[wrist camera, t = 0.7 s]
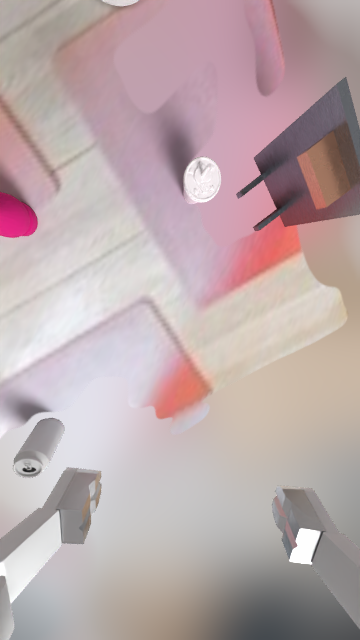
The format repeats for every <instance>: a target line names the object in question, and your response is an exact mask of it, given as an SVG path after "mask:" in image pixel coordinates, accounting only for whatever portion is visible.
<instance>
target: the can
mask: <svg viewBox="0 0 360 640" xmlns="http://www.w3.org/2000/svg"><path fill="white" fill-rule="evenodd" d="M64 431H65V428H64V425H63V424H62V423H61V421H59V420H57V419H54V418H48V419H43V420H41V421H39V422H38V423H37V425H36V426H35V428H34V429H33V431H32V432H31V434H30V435H29V437H28V438H27V440H26V441H25V443H24V445H23V446H22V448H21V449H20V451H19V452H18V454H17V455H16V457H15V458H14V465H13V471H14V472H15V473H16V474H17V475H19V476H20V477H24V478H33V477H36V476H38V475H40V474H41V473H42V471H43V470H45V469H46V468H47V467H48V465H49V463H50V461H51V459H52V457H53V455H54V453H55V450H56V448H57V446H58V444H59V442H60V440H61V438H62V436H63V434H64Z"/></svg>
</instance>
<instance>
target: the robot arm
mask: <svg viewBox="0 0 360 640" xmlns="http://www.w3.org/2000/svg"><path fill="white" fill-rule="evenodd" d="M102 1H103V2H106V3H108V4H111V5H115V6H127V5H131V4H133V3H136V2H137V1H139V0H102ZM100 479H101V471H96V470H87V469H78V468H67V469H66V470H65V471H64V472H63V474H62V475H61V477H60V479H59V481H58V482H57V484H56V486H55V488H54V489H53V491H52V492H51V494H50V496H49V497H48V499H47V501H46V502H45V504H44V506H43V508H38V509H37V510H36V511H34V512H33V513H32V514H31V515H29V516H28V517H27V518H26V519H24V520H23V521H22V522H21V523H19V524H18V525H17V526H16V527H14V528H13V529H12V530H11V531H10V532H8V533H7V534H6V535H5V536H4V537H2V538H1V539H0V640H9V638H10V636H11V634H12V632H13V630H14V618H13V613H12V608H11V603H12V602H13V601H14V600H15V598H16V597H17V596H18V595H19V594H20V593H21V592H22V590H23V589H24V588H25V587H26V586H27V585H28V583H29V582H30V581H31V580H32V579H33V578H34V577H35V575H36V574H37V573H38V572H39V571H40V570H41V568H42V567H43V566H44V565H45V564H46V563H47V561H48V560H49V559H50V558H51V557H52V556H53V554H54V553H55V552H56V551H57V550H58V549H59V548H60V546H61V545H62V543H69V544H84V541H85V539H86V536H87V533H88V530H89V528H90V525H91V515H92V514H93V513H94V512H95V511H96V508H97V506H98V503H99V498H100V494H101V484H100V482H99V481H100ZM275 492H276V494H277V496H276V497H275V498H274V499H273V503H272V509H273V516H274V520H275V522H276V525H277V527H278V528H279V529H280V530H281V531H282V533H283V535H282V542H283V544H284V547H285V550H286V552H287V555H288V558H289V560H290V561H292V562H300V563H309V564H311V566H312V567H313V569H314V570H315V571H316V572H317V574H318V575H319V576H320V578H321V579H322V580H323V582H324V583H325V584H326V586H327V587H328V588H329V589H330V591H331V592H332V594H333V595H334V596H335V597H336V599H337V600H338V601H339V603H340V604H341V605H342V606H343V608H344V609H345V610H346V612H347V613H348V614H349V616H350V617H351V618H352V620H353V621H354V622H355V624H356V625H357V626H358V627H359V629H360V549H359V548H358V547H357V546H356V545H355V544H354V543H353V542H352V541H351V540H350V539H349V538H348V537H346V536H345V535H344V534H342V533H339V531H338V529H337V528H336V526H335V524H334V523H333V521H332V520H331V518H330V516H329V514H328V513H327V511H326V510H325V508H324V506H323V505H322V503H321V501H320V499H319V498H318V496H317V494H316V493H315V491H314V490H313V489H311V488H301V487H293V486H277V488H276V491H275Z"/></svg>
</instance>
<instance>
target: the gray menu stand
mask: <svg viewBox="0 0 360 640" xmlns="http://www.w3.org/2000/svg"><path fill="white" fill-rule="evenodd" d="M254 160H255V162H256V164H257V166H258V168H259V171H260V172H261V175H260V176H259V177H257V178H256V179H255V180H254V181H252V182H251V183H250V184H249V185H247V186H246V187H245V188H244V189H242V190H241V191H240V192H238V193H237V194H236V195H237V197H238V198H240V197H242V196H243V195H245V194H246V193H247V192H248V191H249V190H251V189H252V188H254V187H255V186H256V185H257V184H259V183H260V182H261V181H262V180H264V182H265V184H266V186H267V188H268V190H269V193H270V195H271V197H272V199H273V201H274V204H275V206H276V208H277V209H276V210H275V211H274V212H273V213H271V214H270V215H269V216H267V217H266V218H265V219H263V220H262V221H261V222H259V223H258V224H257V225H255V226H254V227H253V228H254V230H255V231H259V230H260V229H262V228H263V227H264V226H266V225H267V224H268V223H270V222H271V221H272V220H274V219H275V218H276V217H278V216H279V215H280V217H281V219H282V221H283V224H284V226H285V227H287V226H293V225H299V224H305V223H311V222H317V221H322V220H329V219H334V218H341V217H347V216H353V215H359V214H360V129H359V125H358V121H357V117H356V113H355V109H354V106H353V102H352V98H351V95H350V91H349V86H348V83H347V79H346V77H345V78H344V79H342V80H341V81H340V82H339V83H337V84H336V85H335V86H334V87H333V88H332V89H331V90H329V91H328V92H327V93H326V94H325V95H324V96H323V97H322V98H320V99H319V100H318V101H317V102H316V103H315V104H314V105H313V106H311V107H310V109H308V110H307V111H306V112H305V113H304V114H302V116H300V117H299V118H298V119H297V120H296V121H295V122H294V123H292V124H291V125H290V126H289V127H288V128H287V129H286V130H285V131H283V132H282V133H281V134H280V135H279V136H278V137H277V138H276V139H274V140H273V141H272V142H271V143H270V144H269V145H268V146H267V147H266V148H264V149H263V150H262V151H261V152H260V153H259V154H258V155H256V156H255V157H254Z"/></svg>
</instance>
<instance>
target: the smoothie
mask: <svg viewBox="0 0 360 640" xmlns="http://www.w3.org/2000/svg"><path fill="white" fill-rule="evenodd" d="M220 184H221V173H220V170H219V168H218V166H217V164H216V163H215V162H214V161H213V160H212V159H210V158H208V157H198V158H195V159H194V160H192V161H191V162H190V163H189V165H188V166H187V168H186V170H185V172H184V177H183V185H184V192H183V196H184V199H185V201H186V202H187V203H189V204H195V203H198V202H206V201H209V200H210V199H212V198H213V197H214V196H215V195H216V193H217V192H218V190H219V188H220Z"/></svg>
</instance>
